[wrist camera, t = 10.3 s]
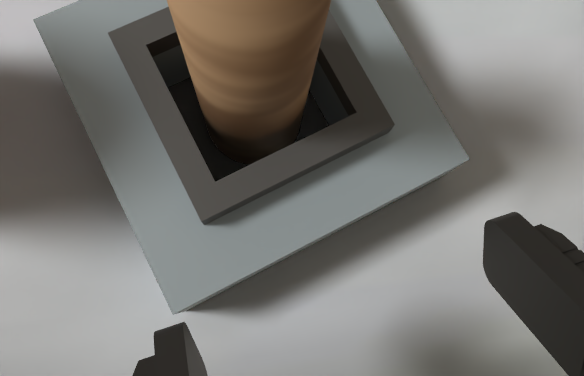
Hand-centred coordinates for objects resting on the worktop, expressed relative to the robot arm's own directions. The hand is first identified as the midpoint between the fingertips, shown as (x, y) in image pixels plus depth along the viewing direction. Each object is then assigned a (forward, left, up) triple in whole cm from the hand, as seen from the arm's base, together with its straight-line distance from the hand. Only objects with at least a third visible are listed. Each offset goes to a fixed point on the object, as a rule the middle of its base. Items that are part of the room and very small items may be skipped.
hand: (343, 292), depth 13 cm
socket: (+1, +8, -8) cm, 11 cm away
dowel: (+1, +8, -8) cm, 11 cm away
